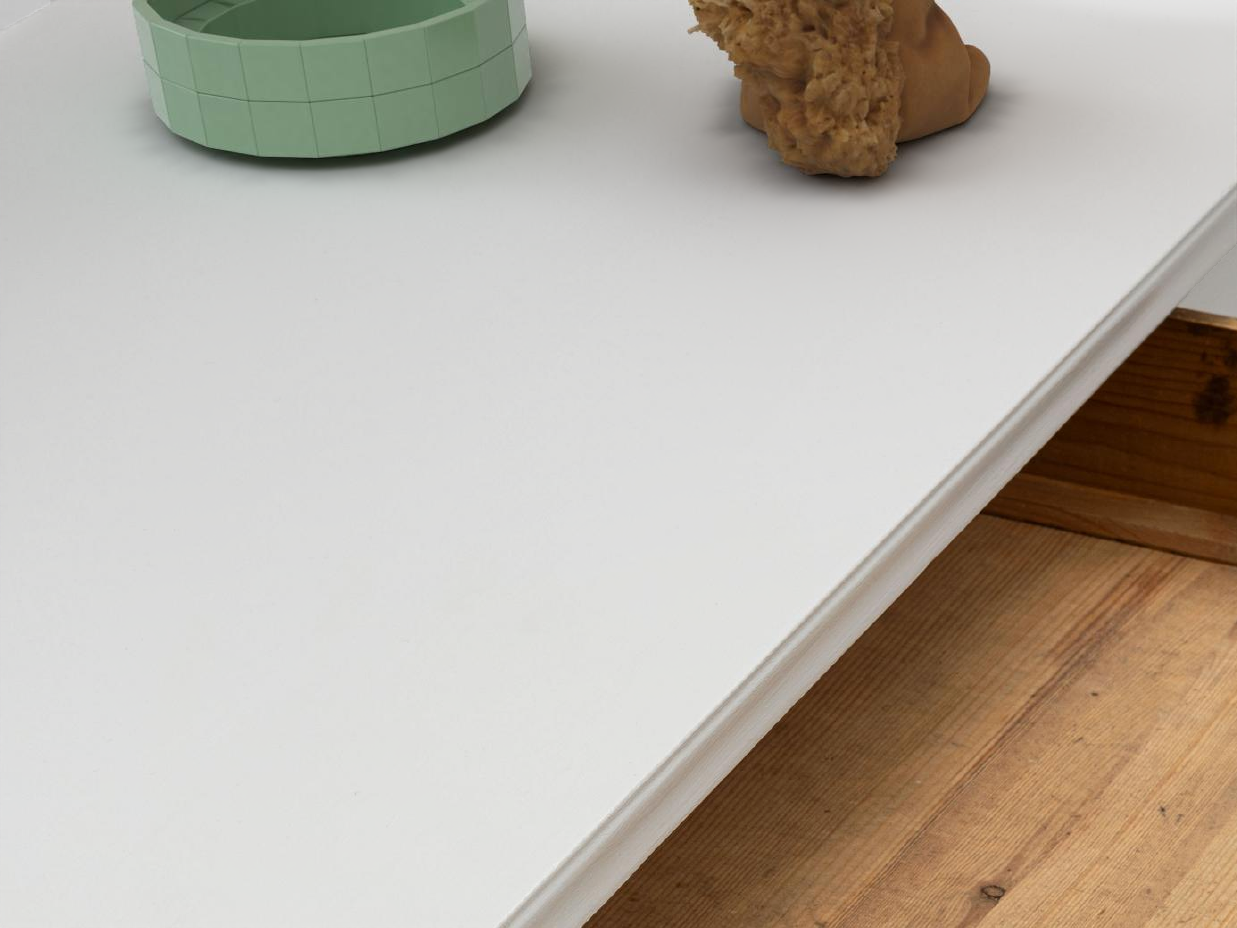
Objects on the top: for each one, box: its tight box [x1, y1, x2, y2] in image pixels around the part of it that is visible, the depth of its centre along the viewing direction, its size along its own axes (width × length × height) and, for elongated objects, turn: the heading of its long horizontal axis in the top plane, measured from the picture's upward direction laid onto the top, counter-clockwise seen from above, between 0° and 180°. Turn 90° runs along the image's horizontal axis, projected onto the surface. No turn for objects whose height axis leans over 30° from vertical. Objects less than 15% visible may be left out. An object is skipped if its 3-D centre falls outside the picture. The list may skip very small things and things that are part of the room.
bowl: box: [131, 0, 533, 159], centre depth 104 cm, size 15×15×5 cm
